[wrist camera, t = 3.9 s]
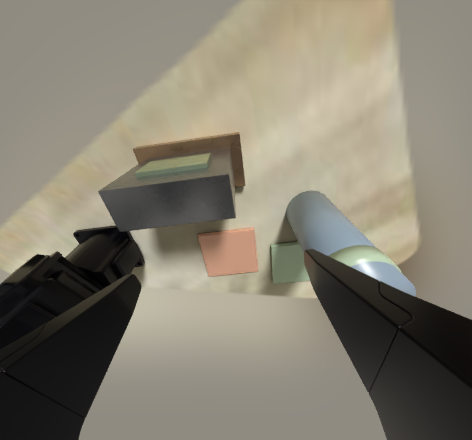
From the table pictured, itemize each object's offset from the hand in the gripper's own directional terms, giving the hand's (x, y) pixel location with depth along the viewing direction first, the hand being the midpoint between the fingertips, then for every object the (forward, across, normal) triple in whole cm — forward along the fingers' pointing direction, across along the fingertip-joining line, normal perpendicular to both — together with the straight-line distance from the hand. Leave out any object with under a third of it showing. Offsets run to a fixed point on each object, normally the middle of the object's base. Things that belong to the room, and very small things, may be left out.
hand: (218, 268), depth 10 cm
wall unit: (+13, -3, +2) cm, 13 cm away
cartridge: (+13, +9, -5) cm, 16 cm away
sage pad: (+13, +8, -13) cm, 20 cm away
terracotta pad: (+13, -1, -10) cm, 16 cm away
